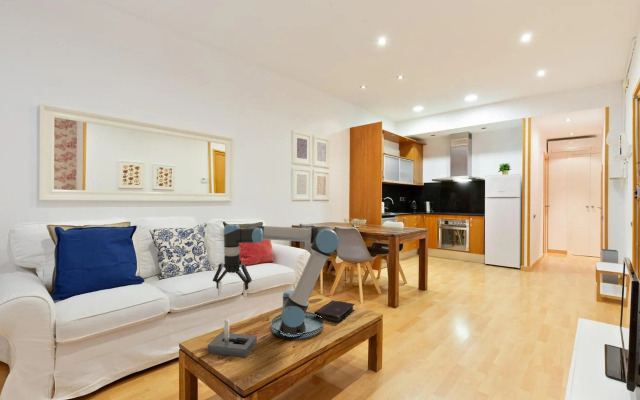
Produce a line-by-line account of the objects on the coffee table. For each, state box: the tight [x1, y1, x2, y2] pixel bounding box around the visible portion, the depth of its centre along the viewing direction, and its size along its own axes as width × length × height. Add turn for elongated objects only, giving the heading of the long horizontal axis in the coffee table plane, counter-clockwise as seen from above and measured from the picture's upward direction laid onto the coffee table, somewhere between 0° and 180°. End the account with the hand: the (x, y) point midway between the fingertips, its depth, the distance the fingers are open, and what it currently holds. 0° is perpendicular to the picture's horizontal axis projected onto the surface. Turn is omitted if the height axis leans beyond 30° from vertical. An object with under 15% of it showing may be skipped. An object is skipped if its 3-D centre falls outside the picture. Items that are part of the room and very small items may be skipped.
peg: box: [223, 319, 230, 342], centre depth 156 cm, size 5×5×14 cm
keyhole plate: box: [207, 331, 258, 359], centre depth 155 cm, size 20×14×4 cm
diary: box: [313, 299, 356, 324], centre depth 202 cm, size 19×25×5 cm
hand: (232, 295), depth 158 cm, fingers open, 13 cm apart
